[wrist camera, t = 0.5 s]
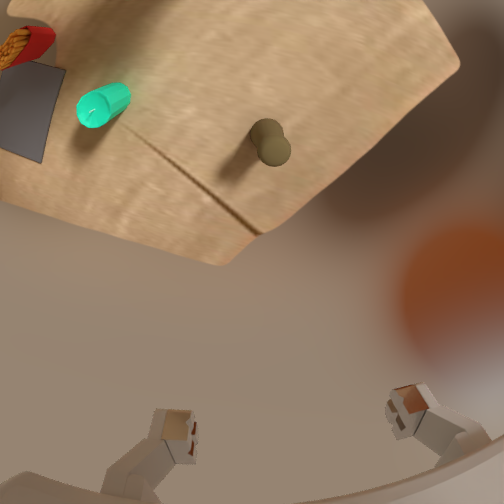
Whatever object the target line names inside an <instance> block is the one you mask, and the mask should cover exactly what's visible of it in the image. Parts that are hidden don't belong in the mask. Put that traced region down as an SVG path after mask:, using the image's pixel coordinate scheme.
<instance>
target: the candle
mask: <svg viewBox="0 0 504 504" xmlns="http://www.w3.org/2000/svg"><path fill="white" fill-rule="evenodd" d="M130 97H131V93H130V91H129V89H128V87H127V86H125V85H124V84H122V83H110V84H108V85H105V86H103V87H100V88H98V89H95V90H93V91H90V92H89V93H87V94H85V95H84V96H82V97H81V99H80V101H79V102H78V104H77V106H76V108H77V117H78V119H79V121H80V123H81V124H83V125H84V126H86V127H88V128H98V127H100V126H102V125H104V124H105V123H107V122H108V121H109V120H111V119H112V118H114V117H115V116H117V115H118V114H119V113H121V112H122V111H124V110H125V109H126V108H127V106H128V105H129V103H130Z"/></svg>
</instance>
